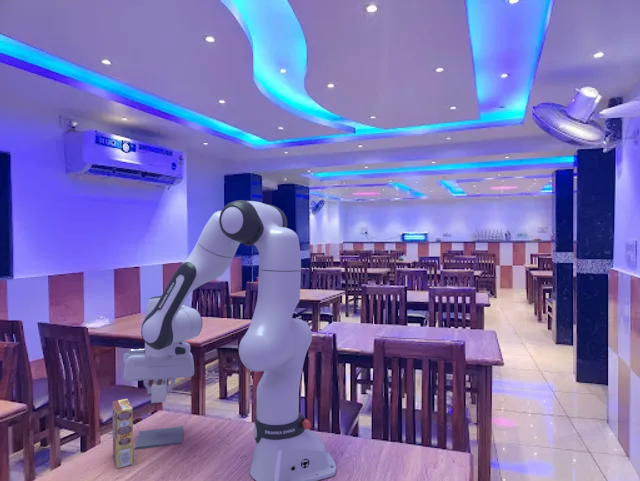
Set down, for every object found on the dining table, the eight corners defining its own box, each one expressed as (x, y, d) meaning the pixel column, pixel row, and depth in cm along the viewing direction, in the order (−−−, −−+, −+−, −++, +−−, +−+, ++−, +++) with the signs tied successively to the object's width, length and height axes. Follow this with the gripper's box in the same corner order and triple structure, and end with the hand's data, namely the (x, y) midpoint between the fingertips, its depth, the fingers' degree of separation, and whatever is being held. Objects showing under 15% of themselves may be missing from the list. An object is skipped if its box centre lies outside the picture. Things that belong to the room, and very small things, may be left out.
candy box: (133, 464, 115) (134, 407, 115) (116, 469, 113) (116, 411, 113) (127, 451, 122) (128, 397, 122) (111, 455, 120) (111, 400, 120)
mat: (183, 428, 138) (183, 426, 138) (182, 443, 127) (182, 441, 127) (139, 433, 134) (139, 431, 134) (134, 449, 124) (134, 447, 124)
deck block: (165, 401, 128) (165, 384, 128) (151, 402, 127) (151, 385, 127) (167, 393, 135) (167, 377, 135) (153, 394, 134) (153, 378, 134)
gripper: (121, 352, 125) (120, 399, 125) (194, 348, 131) (193, 393, 131) (125, 347, 131) (124, 392, 131) (194, 343, 137) (193, 386, 137)
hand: (159, 392), depth 131 cm, fingers closed on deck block, 4 cm apart
